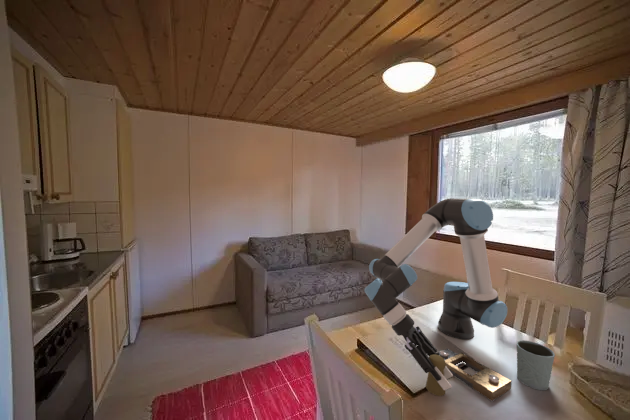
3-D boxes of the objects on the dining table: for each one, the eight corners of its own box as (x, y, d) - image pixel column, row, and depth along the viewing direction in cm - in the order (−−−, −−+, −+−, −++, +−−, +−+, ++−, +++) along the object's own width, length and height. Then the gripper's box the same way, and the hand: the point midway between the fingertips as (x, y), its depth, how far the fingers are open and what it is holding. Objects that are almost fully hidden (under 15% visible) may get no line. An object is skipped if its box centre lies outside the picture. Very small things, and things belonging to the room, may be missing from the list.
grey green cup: (510, 378, 93) (512, 346, 92) (519, 367, 99) (521, 336, 98) (548, 396, 85) (550, 360, 84) (555, 383, 91) (557, 349, 90)
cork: (437, 398, 83) (439, 365, 82) (421, 385, 88) (423, 354, 88) (449, 392, 86) (451, 359, 85) (433, 380, 91) (435, 349, 91)
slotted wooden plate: (428, 359, 103) (429, 349, 102) (447, 351, 108) (447, 342, 108) (492, 401, 82) (492, 388, 82) (510, 389, 88) (511, 377, 87)
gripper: (397, 315, 102) (442, 371, 94) (383, 336, 86) (435, 405, 79) (412, 305, 99) (460, 362, 91) (400, 325, 83) (456, 396, 76)
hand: (448, 382), depth 85 cm, fingers closed on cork, 5 cm apart
